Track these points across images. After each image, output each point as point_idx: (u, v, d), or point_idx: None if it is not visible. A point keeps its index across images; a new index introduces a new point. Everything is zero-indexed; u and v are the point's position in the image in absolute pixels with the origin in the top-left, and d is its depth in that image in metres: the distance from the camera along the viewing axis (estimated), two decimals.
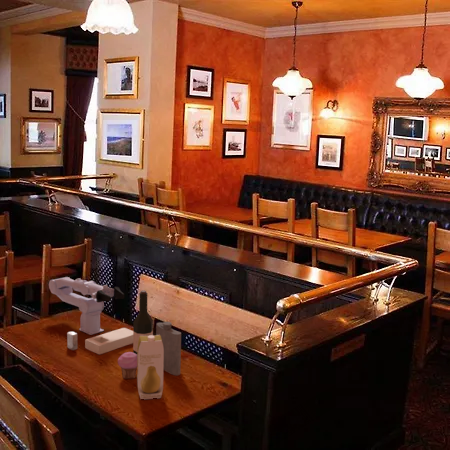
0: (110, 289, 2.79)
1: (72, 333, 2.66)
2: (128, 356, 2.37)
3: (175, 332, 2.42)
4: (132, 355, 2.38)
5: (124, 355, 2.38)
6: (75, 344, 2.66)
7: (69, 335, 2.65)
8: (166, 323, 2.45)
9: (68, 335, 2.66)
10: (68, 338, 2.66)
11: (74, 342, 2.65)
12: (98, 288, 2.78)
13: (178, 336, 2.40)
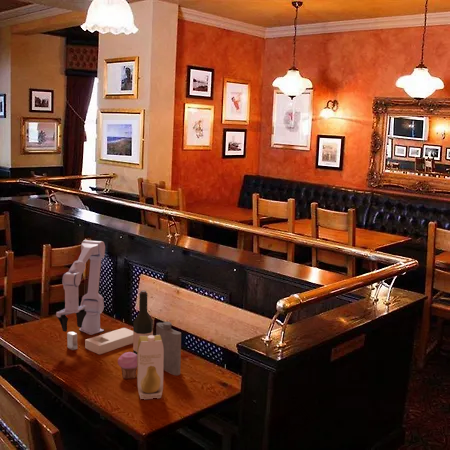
0: None
1: (72, 333, 2.66)
2: (128, 356, 2.37)
3: (175, 332, 2.42)
4: (132, 355, 2.38)
5: (124, 355, 2.38)
6: (75, 344, 2.66)
7: (69, 335, 2.65)
8: (166, 323, 2.45)
9: (68, 335, 2.66)
10: (68, 338, 2.66)
11: (74, 342, 2.65)
12: (71, 305, 2.61)
13: (178, 336, 2.40)
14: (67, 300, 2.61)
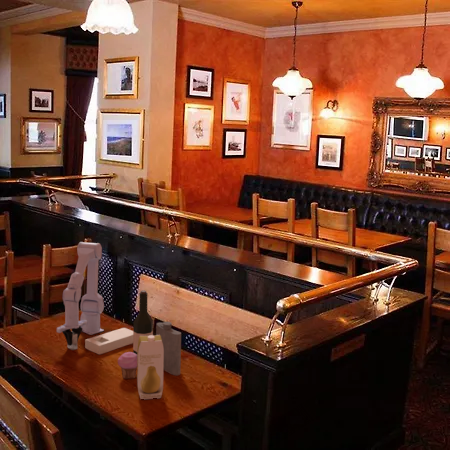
0: None
1: None
2: (128, 356, 2.37)
3: (175, 332, 2.42)
4: (132, 355, 2.38)
5: (124, 355, 2.38)
6: (75, 344, 2.66)
7: None
8: (166, 323, 2.45)
9: None
10: None
11: (74, 342, 2.65)
12: (71, 321, 2.62)
13: (178, 336, 2.41)
14: (67, 316, 2.62)
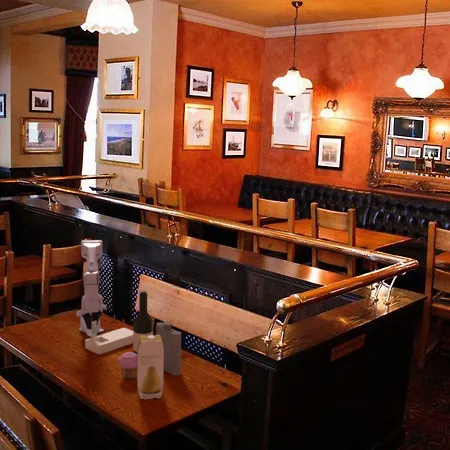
0: None
1: None
2: (128, 356, 2.37)
3: (175, 332, 2.42)
4: (132, 355, 2.38)
5: (124, 355, 2.38)
6: (94, 331, 2.65)
7: None
8: (166, 323, 2.45)
9: None
10: None
11: (93, 329, 2.65)
12: (91, 304, 2.61)
13: (178, 336, 2.40)
14: (89, 300, 2.61)
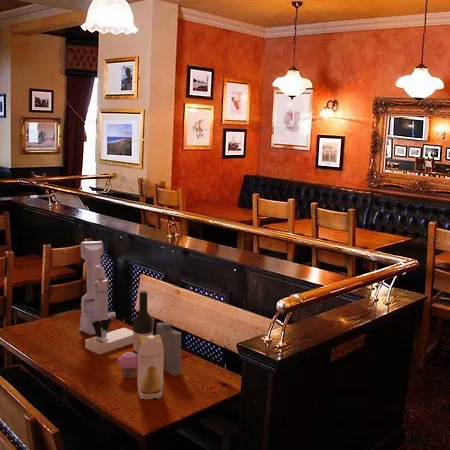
0: None
1: (101, 329, 2.66)
2: (128, 356, 2.37)
3: (175, 332, 2.42)
4: (132, 355, 2.38)
5: (124, 355, 2.38)
6: (104, 340, 2.66)
7: None
8: (166, 323, 2.45)
9: None
10: None
11: (103, 338, 2.66)
12: (100, 312, 2.62)
13: (178, 336, 2.40)
14: (100, 307, 2.62)
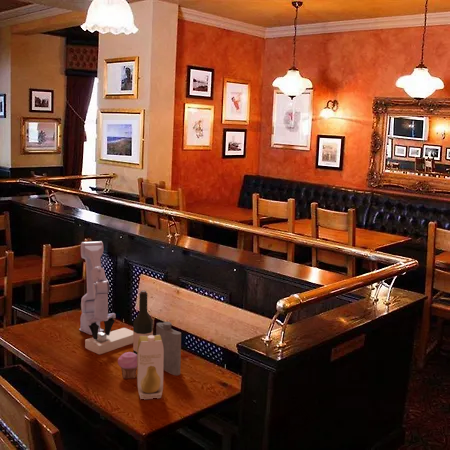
0: None
1: (101, 333, 2.67)
2: (128, 356, 2.37)
3: (175, 332, 2.42)
4: (132, 355, 2.38)
5: (124, 355, 2.38)
6: None
7: (98, 335, 2.66)
8: (166, 323, 2.45)
9: None
10: (97, 338, 2.67)
11: None
12: (100, 313, 2.62)
13: (178, 336, 2.40)
14: (100, 308, 2.62)
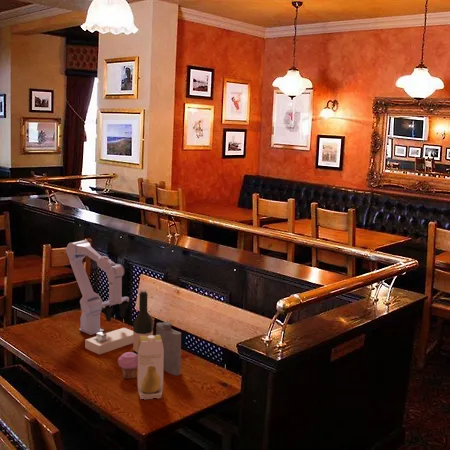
0: None
1: (101, 333, 2.67)
2: (128, 356, 2.37)
3: (175, 332, 2.42)
4: (132, 355, 2.38)
5: (124, 355, 2.38)
6: None
7: (98, 335, 2.66)
8: (166, 323, 2.45)
9: (97, 335, 2.67)
10: (97, 338, 2.67)
11: None
12: (115, 296, 2.74)
13: (178, 336, 2.40)
14: (118, 291, 2.74)
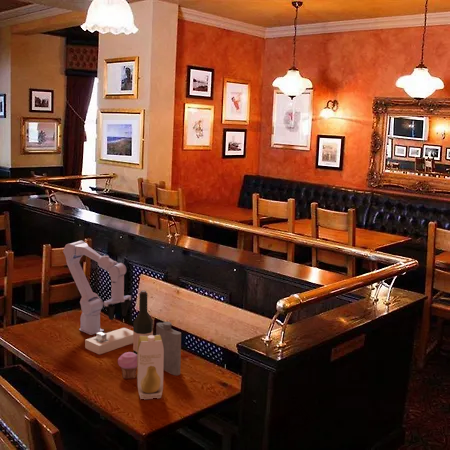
0: None
1: (101, 333, 2.67)
2: (128, 356, 2.37)
3: (175, 332, 2.42)
4: (132, 355, 2.38)
5: (124, 355, 2.38)
6: None
7: (98, 335, 2.66)
8: (166, 323, 2.45)
9: (97, 335, 2.67)
10: (97, 338, 2.67)
11: None
12: (117, 295, 2.76)
13: (178, 336, 2.41)
14: (121, 290, 2.76)
